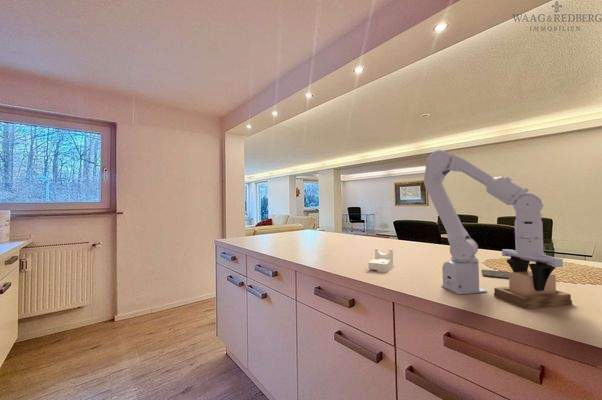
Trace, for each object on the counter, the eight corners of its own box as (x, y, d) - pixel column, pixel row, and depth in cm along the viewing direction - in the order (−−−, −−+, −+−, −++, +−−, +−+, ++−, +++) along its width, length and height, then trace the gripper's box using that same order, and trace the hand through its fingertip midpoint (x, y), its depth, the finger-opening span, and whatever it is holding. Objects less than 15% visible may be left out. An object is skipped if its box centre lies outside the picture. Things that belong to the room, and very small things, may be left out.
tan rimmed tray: (525, 308, 65) (525, 298, 65) (493, 296, 74) (493, 287, 74) (572, 304, 67) (571, 294, 67) (535, 292, 76) (535, 284, 76)
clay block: (523, 299, 68) (523, 276, 68) (509, 294, 72) (508, 272, 72) (556, 296, 69) (555, 274, 69) (540, 291, 73) (539, 270, 73)
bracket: (376, 264, 116) (376, 247, 116) (393, 265, 113) (392, 248, 113) (368, 271, 105) (368, 252, 105) (386, 273, 102) (386, 253, 102)
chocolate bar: (481, 269, 101) (543, 275, 91) (481, 271, 101) (543, 277, 91) (482, 275, 93) (550, 282, 83) (482, 277, 93) (550, 285, 83)
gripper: (572, 240, 64) (574, 295, 64) (515, 234, 78) (517, 279, 78) (548, 241, 63) (550, 297, 63) (495, 235, 77) (496, 280, 77)
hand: (530, 287), depth 70 cm, fingers closed on clay block, 4 cm apart
